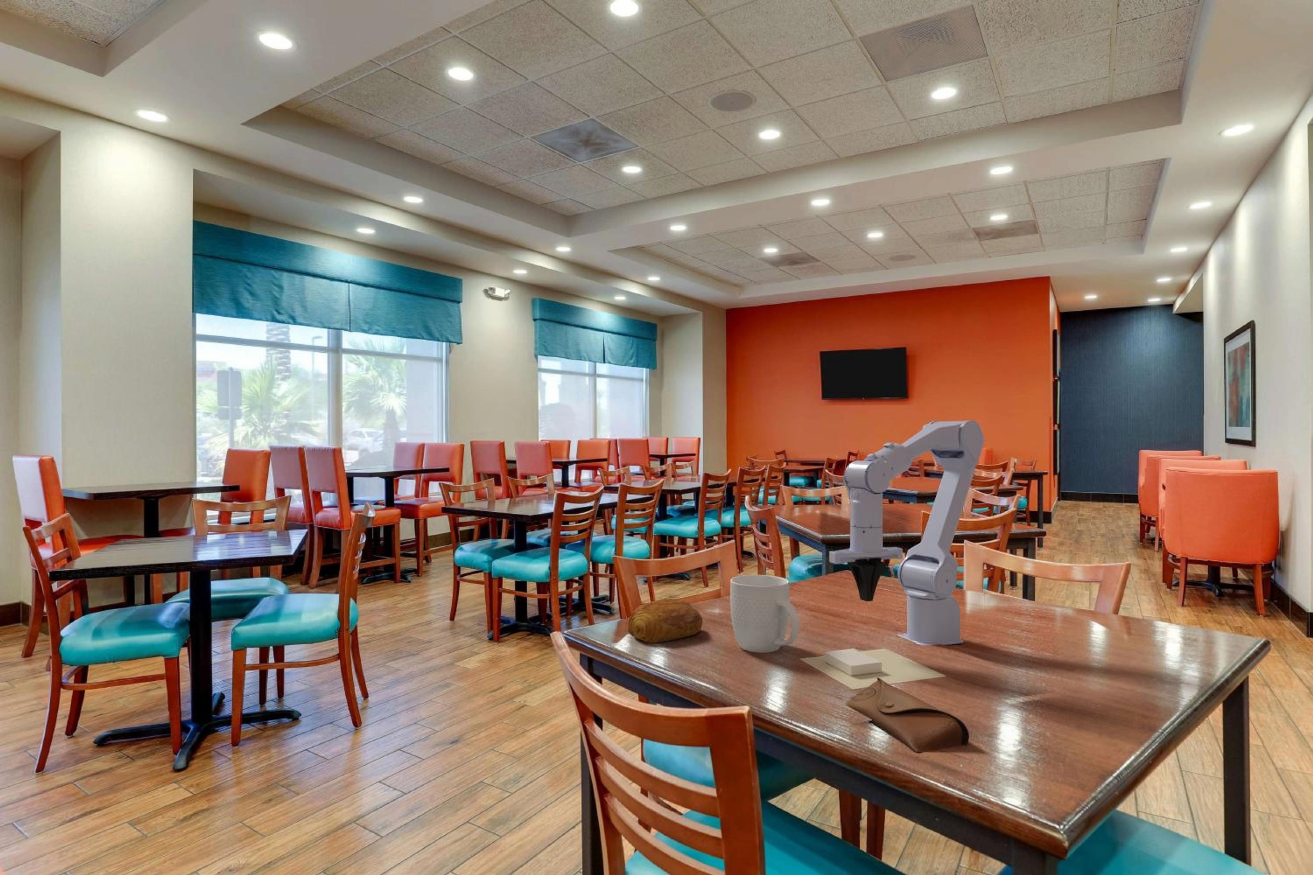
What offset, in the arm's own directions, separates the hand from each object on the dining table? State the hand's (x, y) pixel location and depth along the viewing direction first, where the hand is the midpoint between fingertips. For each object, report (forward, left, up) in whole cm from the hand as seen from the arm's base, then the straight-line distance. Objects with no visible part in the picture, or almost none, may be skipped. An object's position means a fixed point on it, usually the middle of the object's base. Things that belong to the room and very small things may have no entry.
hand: (866, 600), depth 130 cm
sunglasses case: (+15, +28, -11) cm, 33 cm away
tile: (+5, +7, -8) cm, 12 cm away
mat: (+5, +8, -10) cm, 14 cm away
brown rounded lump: (+30, -26, -10) cm, 41 cm away
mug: (+17, -8, -10) cm, 21 cm away
